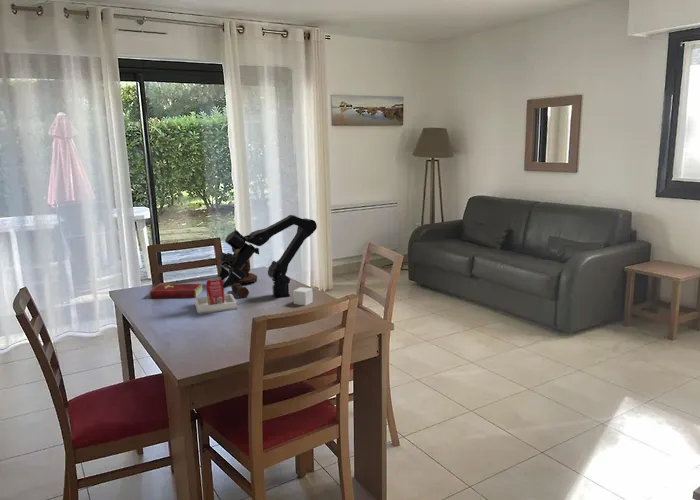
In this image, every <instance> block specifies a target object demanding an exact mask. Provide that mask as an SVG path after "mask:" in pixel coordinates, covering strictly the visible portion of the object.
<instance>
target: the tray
mask: <svg viewBox="0 0 700 500" xmlns="http://www.w3.org/2000/svg"><path fill="white" fill-rule="evenodd" d="M193 299H194V307H195V309H196V312H197V314H198V315H202V314H210V313H211V314H212V313H217V312H219V313H220V312H226V311H233V310H238V301H237V299H235V297H234V295H233V294H232V293H227V294H224V303H221V304H213V305H208V301H207V296H201V297H196V298H193Z"/></svg>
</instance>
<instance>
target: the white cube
mask: <svg viewBox="0 0 700 500" xmlns="http://www.w3.org/2000/svg"><path fill="white" fill-rule="evenodd" d="M292 295H293V304H294V305H300V306H308V305H309V304H311V303H314V302H313V301H314V300H313V299H314V295H313V288H310V287H300V286H299V287H298V288H296V289H294V290H293V294H292Z"/></svg>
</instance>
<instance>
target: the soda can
mask: <svg viewBox="0 0 700 500" xmlns="http://www.w3.org/2000/svg"><path fill="white" fill-rule="evenodd" d="M205 283H206V286H205V288H206V297H207V301H208V305H213V304H221V303H224V295H225V288H224V287H223V285H224V280H222V279H221V277H218V276H210V277H207V280H206V282H205Z"/></svg>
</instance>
